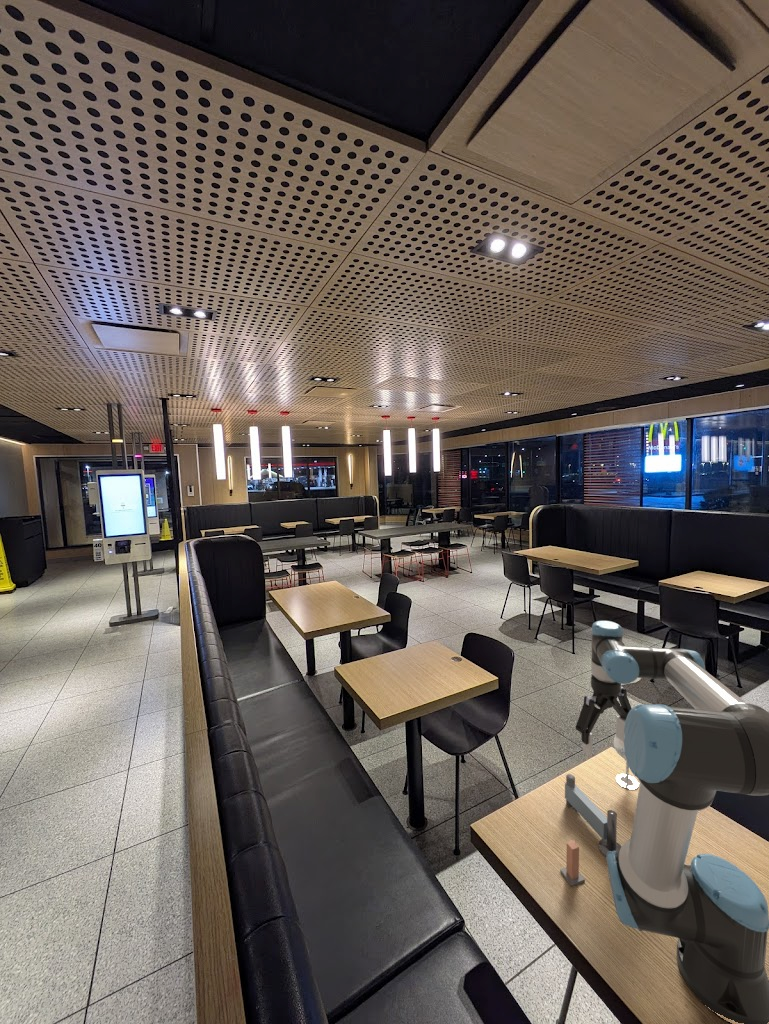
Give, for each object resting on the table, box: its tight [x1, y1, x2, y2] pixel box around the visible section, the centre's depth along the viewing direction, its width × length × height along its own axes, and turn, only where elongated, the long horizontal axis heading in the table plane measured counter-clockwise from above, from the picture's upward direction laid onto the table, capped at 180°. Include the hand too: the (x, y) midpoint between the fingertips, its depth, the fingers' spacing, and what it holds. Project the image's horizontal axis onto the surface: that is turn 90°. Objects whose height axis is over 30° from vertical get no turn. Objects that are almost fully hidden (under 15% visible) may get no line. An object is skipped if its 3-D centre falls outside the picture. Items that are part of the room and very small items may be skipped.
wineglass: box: [613, 733, 640, 791], centre depth 133 cm, size 8×8×18 cm
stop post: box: [559, 839, 586, 887], centre depth 104 cm, size 4×4×9 cm
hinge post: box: [598, 809, 622, 859], centre depth 111 cm, size 6×6×11 cm
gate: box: [564, 773, 607, 840], centre depth 119 cm, size 15×2×9 cm, turn 16°
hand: (604, 745), depth 120 cm, fingers open, 12 cm apart
